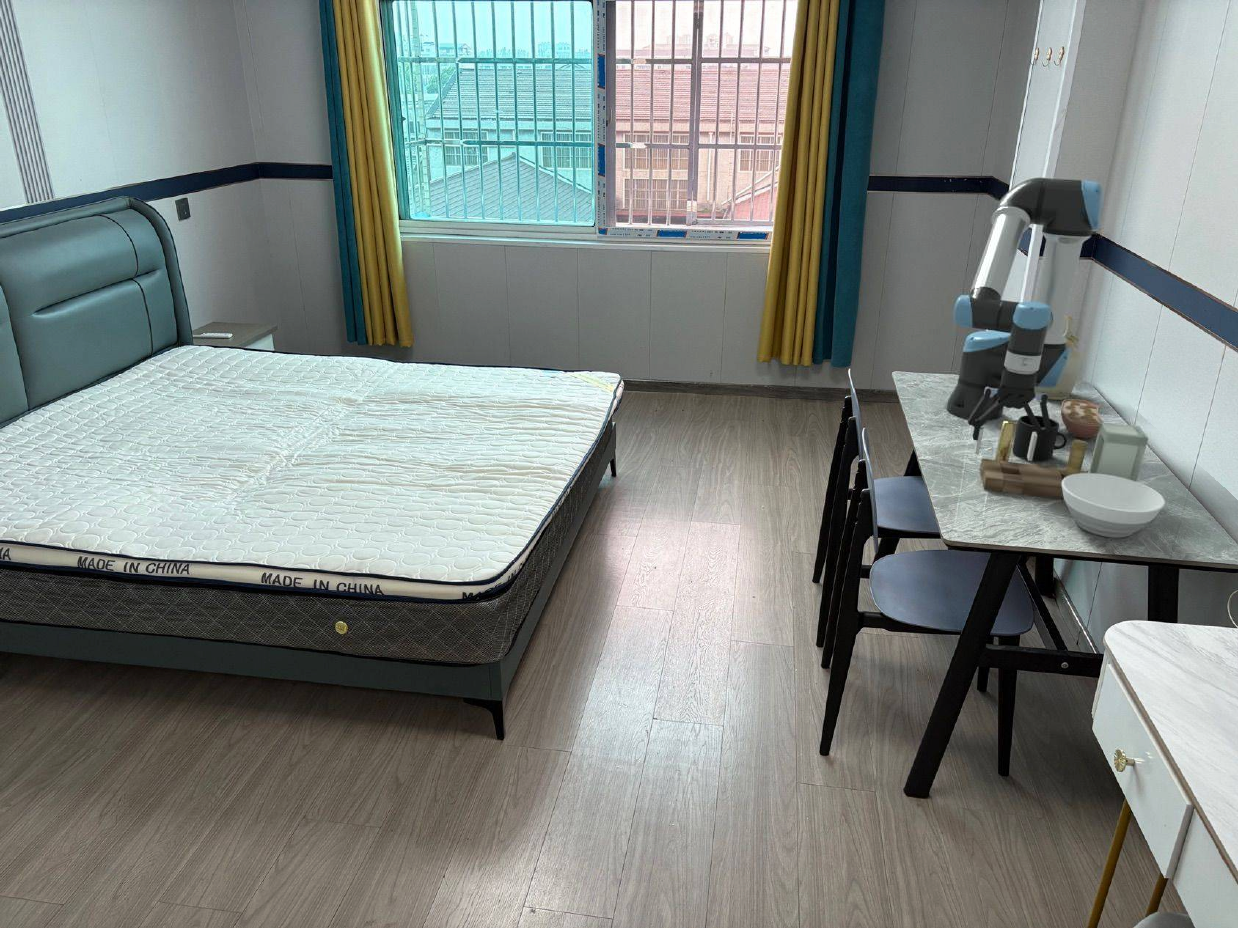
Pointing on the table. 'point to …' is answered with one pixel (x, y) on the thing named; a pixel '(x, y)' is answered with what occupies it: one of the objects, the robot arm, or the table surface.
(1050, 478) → the wooden slotted block
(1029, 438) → the mug
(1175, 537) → the table surface
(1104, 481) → the bowl
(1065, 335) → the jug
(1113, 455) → the housing
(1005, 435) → the pin
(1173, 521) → the table surface
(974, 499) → the table surface
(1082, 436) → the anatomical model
